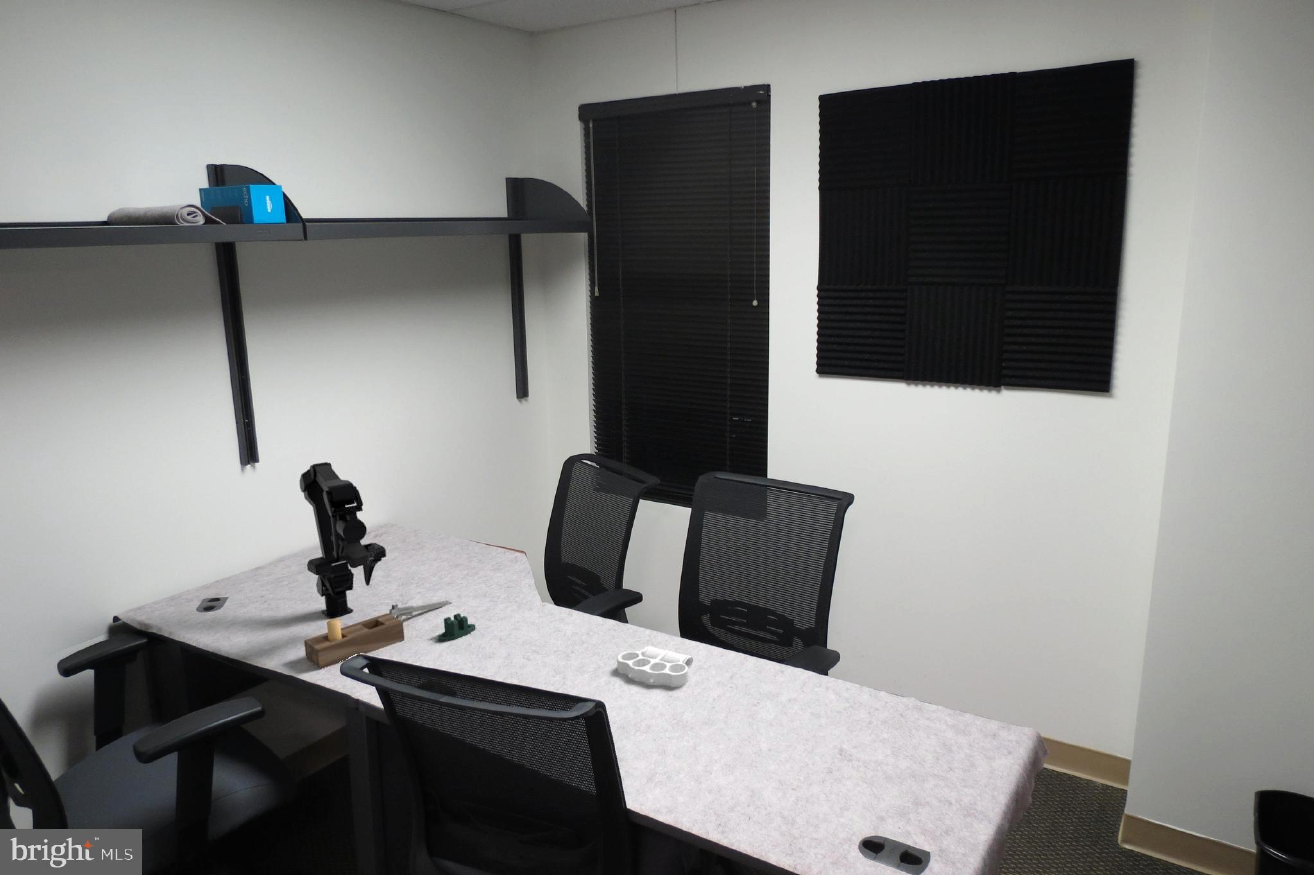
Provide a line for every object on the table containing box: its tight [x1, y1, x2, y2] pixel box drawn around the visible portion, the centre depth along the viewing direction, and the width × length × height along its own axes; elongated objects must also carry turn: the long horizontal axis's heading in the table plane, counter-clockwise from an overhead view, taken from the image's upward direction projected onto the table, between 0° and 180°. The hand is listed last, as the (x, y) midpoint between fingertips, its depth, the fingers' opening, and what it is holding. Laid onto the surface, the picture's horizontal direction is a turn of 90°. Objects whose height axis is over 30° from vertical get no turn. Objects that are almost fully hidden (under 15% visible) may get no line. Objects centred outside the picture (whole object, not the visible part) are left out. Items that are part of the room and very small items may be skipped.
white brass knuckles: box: [616, 645, 694, 688], centre depth 208 cm, size 3×18×15 cm
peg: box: [326, 618, 342, 643], centre depth 219 cm, size 3×3×9 cm
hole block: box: [303, 612, 405, 670], centre depth 223 cm, size 8×22×5 cm, turn 134°
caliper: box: [388, 599, 453, 621], centre depth 243 cm, size 20×1×6 cm, turn 143°
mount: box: [437, 613, 476, 643], centre depth 230 cm, size 11×4×5 cm, turn 137°
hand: (350, 590), depth 230 cm, fingers open, 9 cm apart
